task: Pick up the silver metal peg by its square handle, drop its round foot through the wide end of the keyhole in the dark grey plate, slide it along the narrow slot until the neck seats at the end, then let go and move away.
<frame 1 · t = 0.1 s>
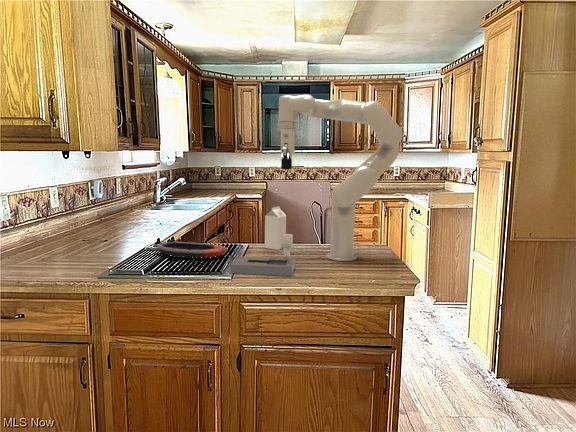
hand: (286, 168, 178), 37 cm above the table, tool pointing down, fingers open, 9 cm apart
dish: (191, 256, 179), on the table
peg: (286, 261, 172), on the table
milk carton: (275, 248, 198), on the table
keyhole plate: (263, 270, 159), on the table
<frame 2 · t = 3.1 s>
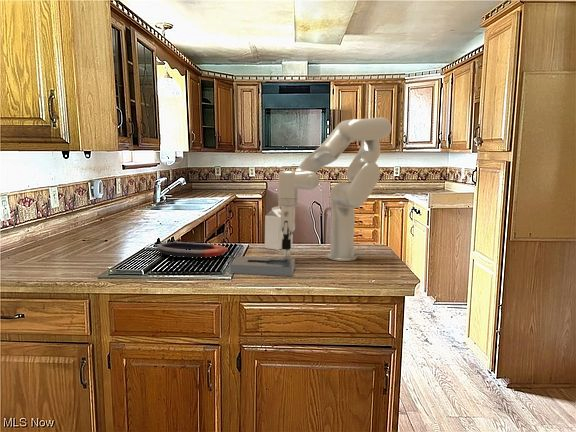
hand: (286, 247, 172), 6 cm above the table, tool pointing down, fingers closed on peg, 4 cm apart
peg: (286, 261, 172), on the table, touching gripper
everything else where it was.
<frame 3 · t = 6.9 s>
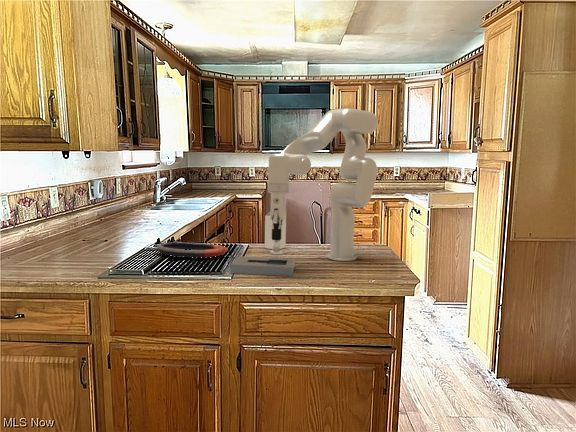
hand: (277, 238, 157), 12 cm above the table, tool pointing down, fingers closed on peg, 4 cm apart
peg: (276, 253, 158), point 6 cm above the table, touching gripper
everything else where it was.
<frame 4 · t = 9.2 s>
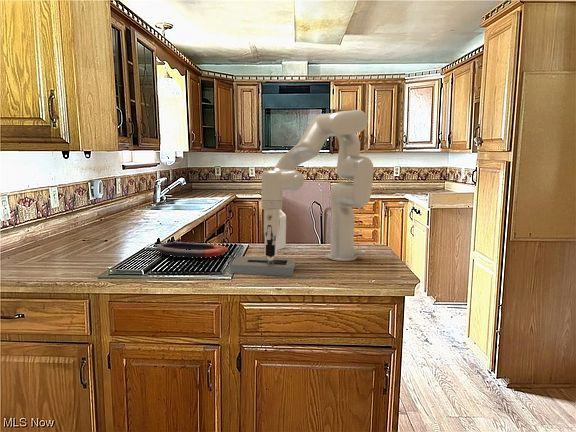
hand: (271, 253, 158), 6 cm above the table, tool pointing down, fingers closed on peg, 4 cm apart
peg: (270, 269, 159), resting in keyhole plate, touching gripper
everything else where it was.
when the fingers open (6 cm above the table, at t = 11.0 s): peg stays where it is, resting in keyhole plate.
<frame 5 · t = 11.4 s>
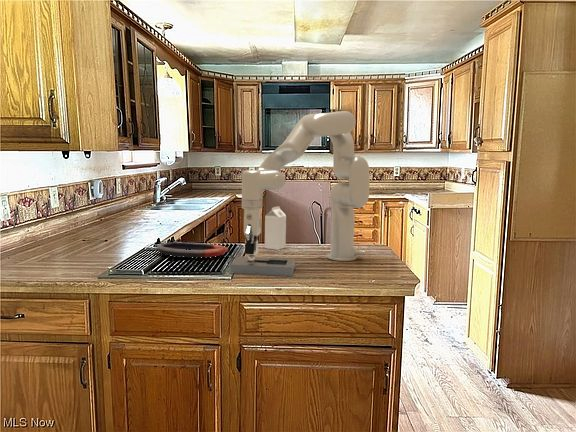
hand: (251, 251, 159), 7 cm above the table, tool pointing down, fingers open, 8 cm apart
peg: (251, 269, 160), resting in keyhole plate
everything else where it was.
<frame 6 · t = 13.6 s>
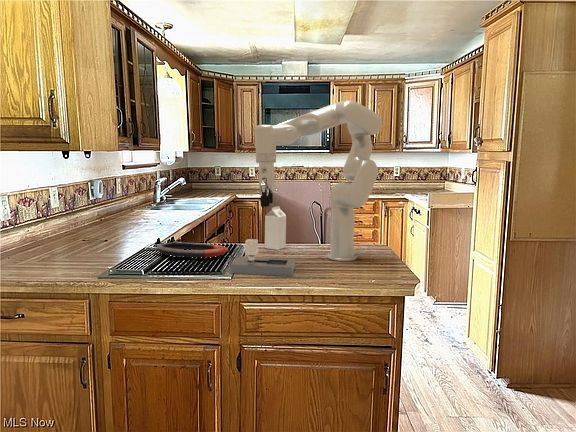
hand: (266, 204, 162), 24 cm above the table, tool pointing down, fingers open, 9 cm apart
nothing on the table moved.
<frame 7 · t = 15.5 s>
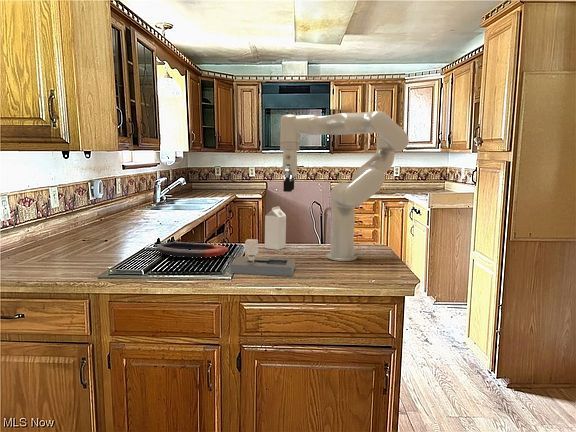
hand: (288, 190, 171), 28 cm above the table, tool pointing down, fingers open, 9 cm apart
nothing on the table moved.
at the end: peg 0.3 cm from the target spot on the keyhole plate, point 0.0 cm above the keyhole plate's base; peg tilted 0°; the gripper is holding nothing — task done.
